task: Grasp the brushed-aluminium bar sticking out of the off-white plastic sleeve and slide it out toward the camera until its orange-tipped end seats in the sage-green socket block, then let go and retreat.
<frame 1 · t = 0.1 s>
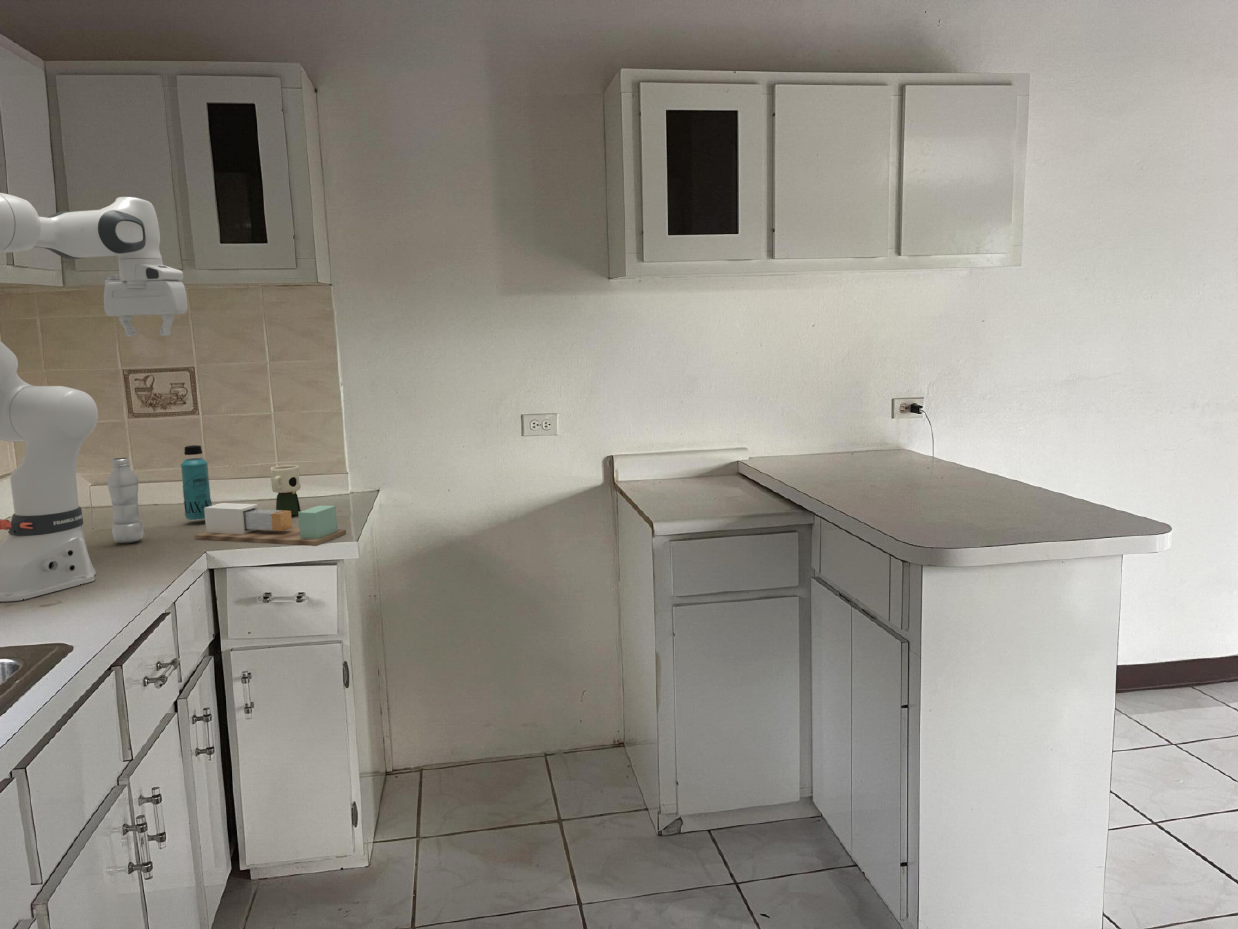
hand: (148, 335, 212), 48 cm above the counter, fingers open, 8 cm apart
rectangular peg: (251, 519, 225), point 4 cm above the counter, slide at 0.0 cm
sleeve: (232, 518, 227), on the baseboard, point 4 cm above the counter
socket: (318, 521, 220), on the baseboard, point 4 cm above the counter
beverage bottle: (199, 523, 243), on the counter
baseboard: (234, 534, 228), on the counter
plastic bottle: (129, 543, 222), on the counter
character mug: (288, 516, 249), on the counter
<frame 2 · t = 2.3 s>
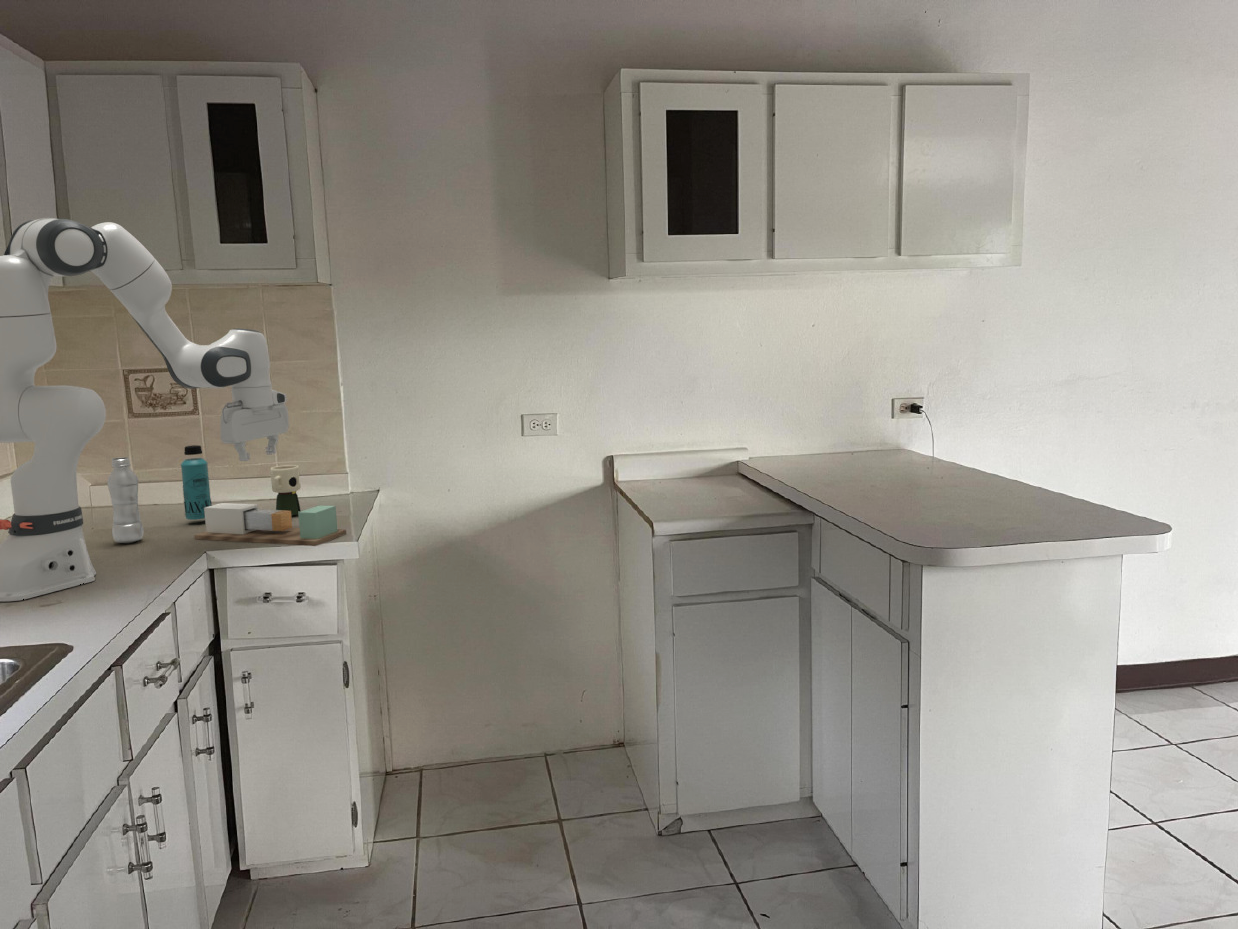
hand: (258, 457, 222), 19 cm above the counter, fingers open, 8 cm apart
nothing on the counter moved.
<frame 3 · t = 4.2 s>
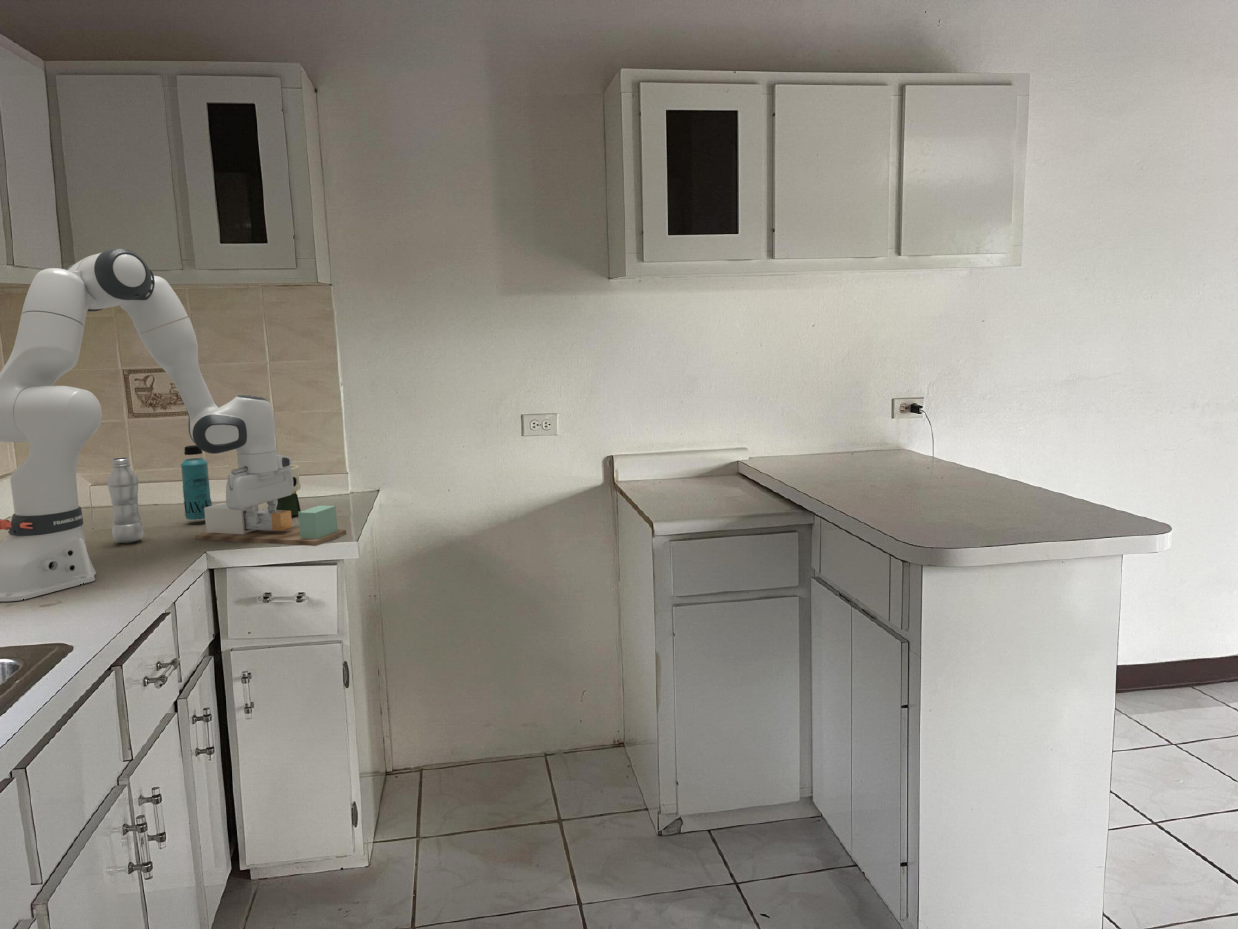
hand: (263, 521, 224), 4 cm above the counter, fingers closed on rectangular peg, 4 cm apart
rectangular peg: (251, 519, 225), point 4 cm above the counter, slide at 0.0 cm, touching gripper
everything else where it was.
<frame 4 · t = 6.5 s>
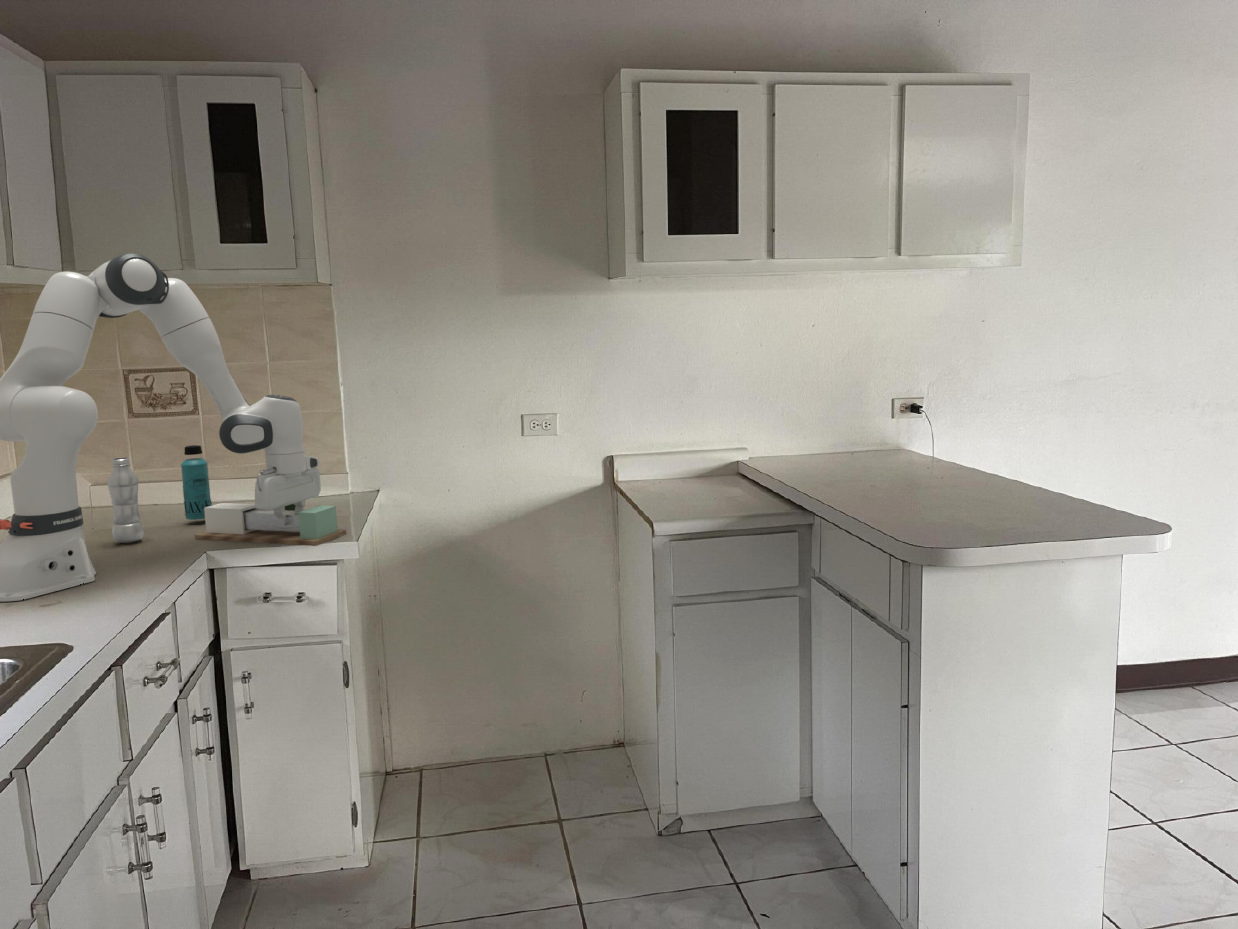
hand: (290, 522, 222), 4 cm above the counter, fingers closed on rectangular peg, 4 cm apart
rectangular peg: (279, 520, 223), point 4 cm above the counter, slide at 7.7 cm, touching gripper
everything else where it was.
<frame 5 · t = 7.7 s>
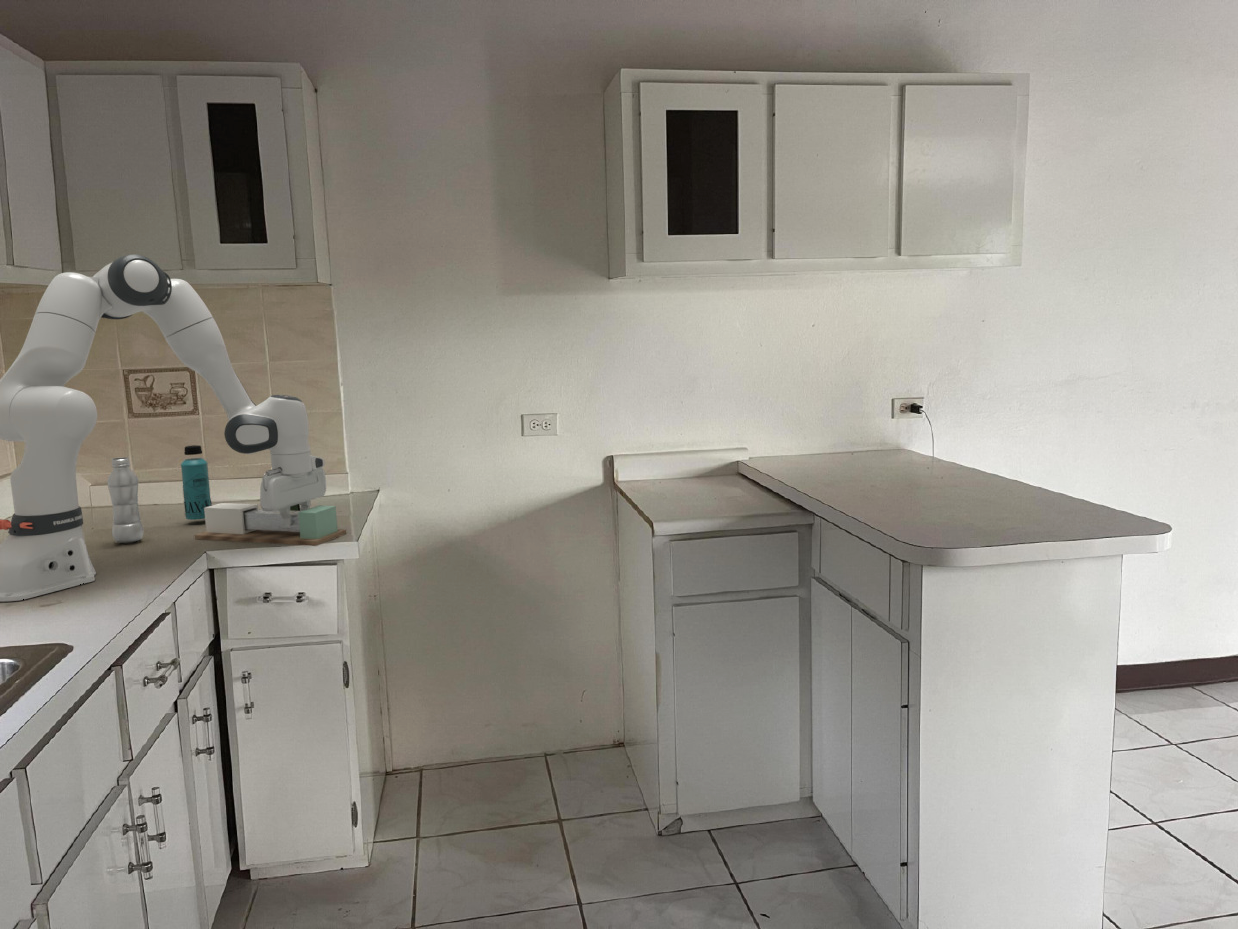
hand: (296, 522, 222), 4 cm above the counter, fingers closed on rectangular peg, 4 cm apart
rectangular peg: (284, 520, 223), point 4 cm above the counter, slide at 9.3 cm, touching gripper
everything else where it was.
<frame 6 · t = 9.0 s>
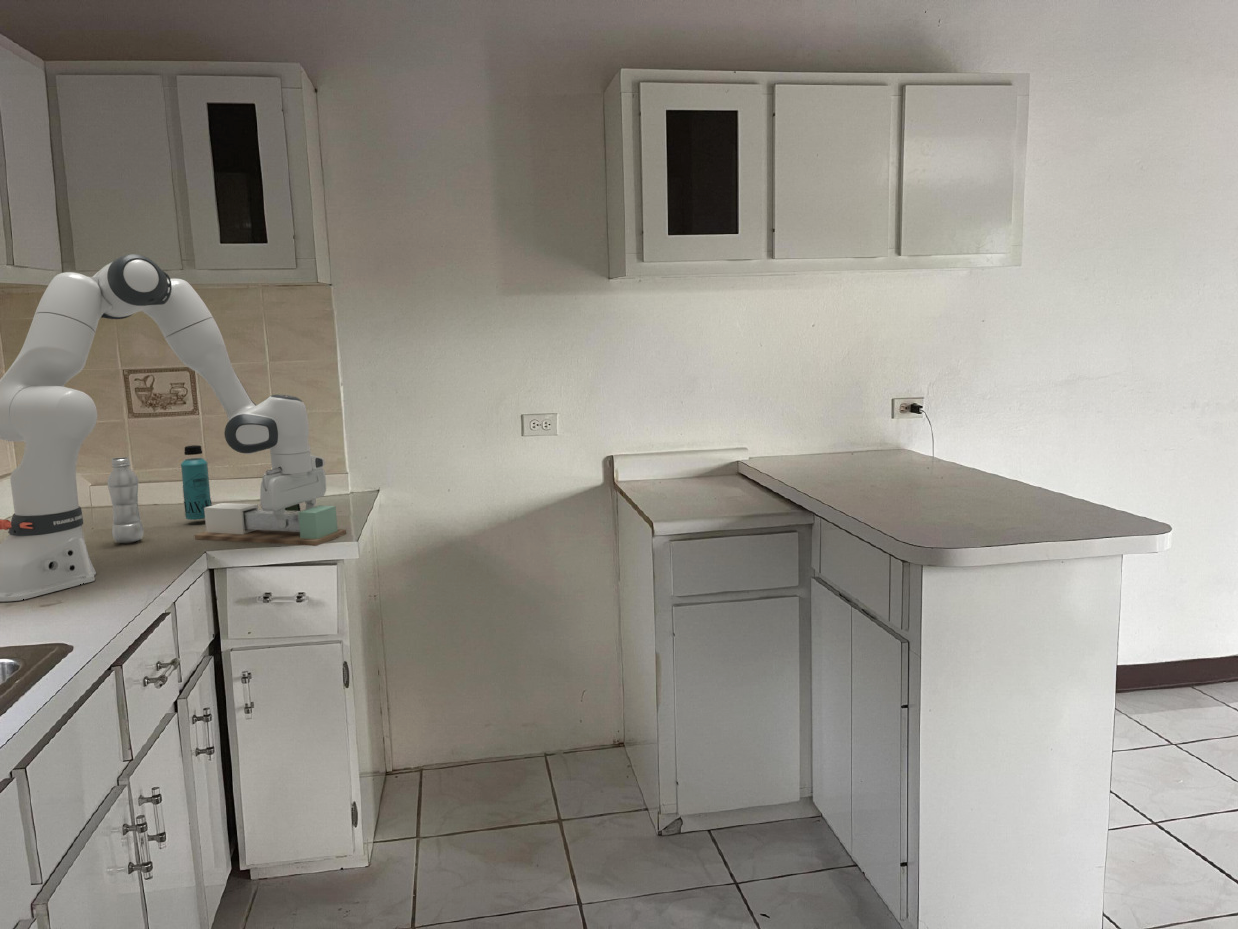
hand: (296, 522, 222), 4 cm above the counter, fingers open, 8 cm apart
rectangular peg: (284, 520, 223), point 4 cm above the counter, slide at 9.3 cm
everything else where it was.
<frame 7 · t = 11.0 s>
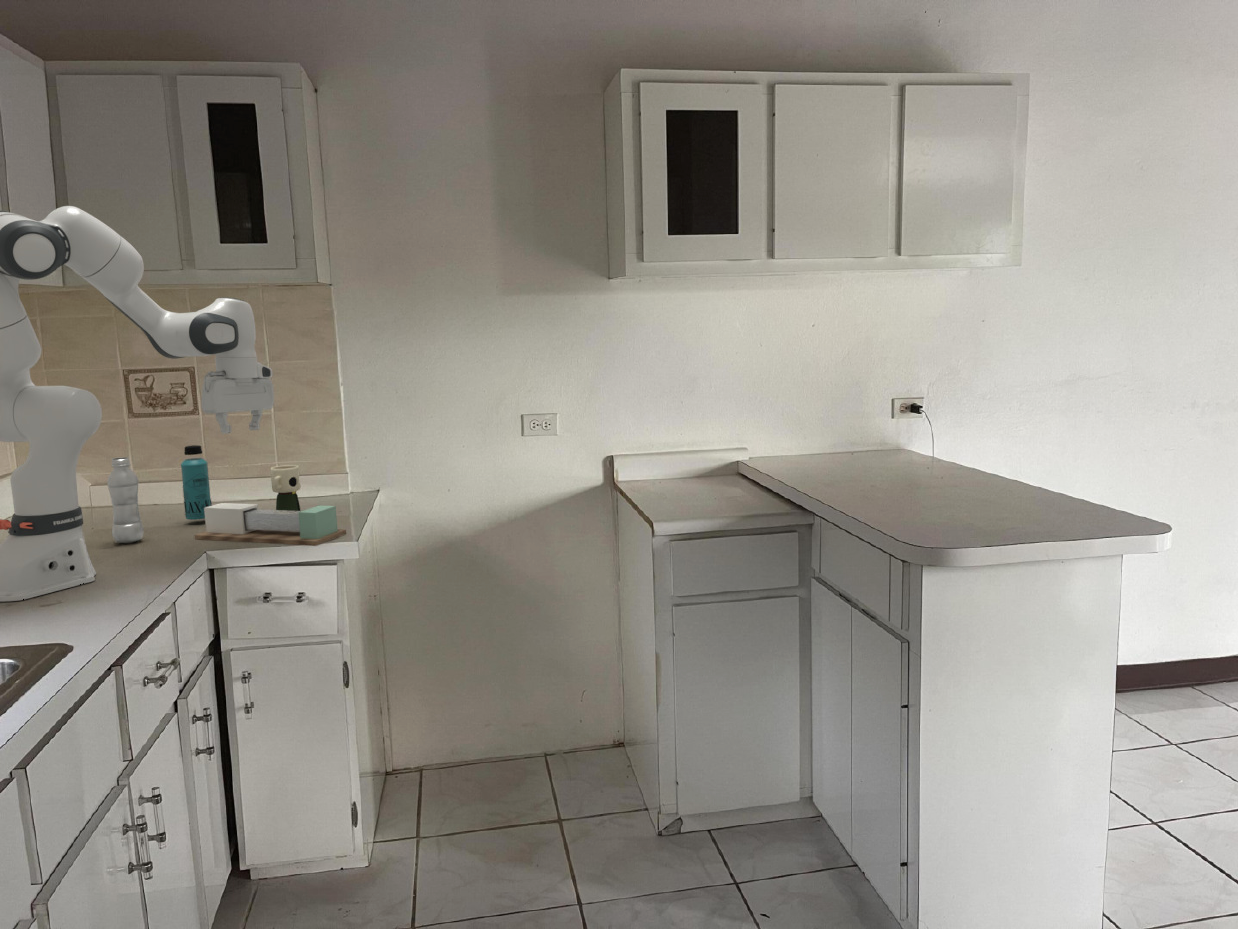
hand: (240, 431, 216), 26 cm above the counter, fingers open, 8 cm apart
nothing on the counter moved.
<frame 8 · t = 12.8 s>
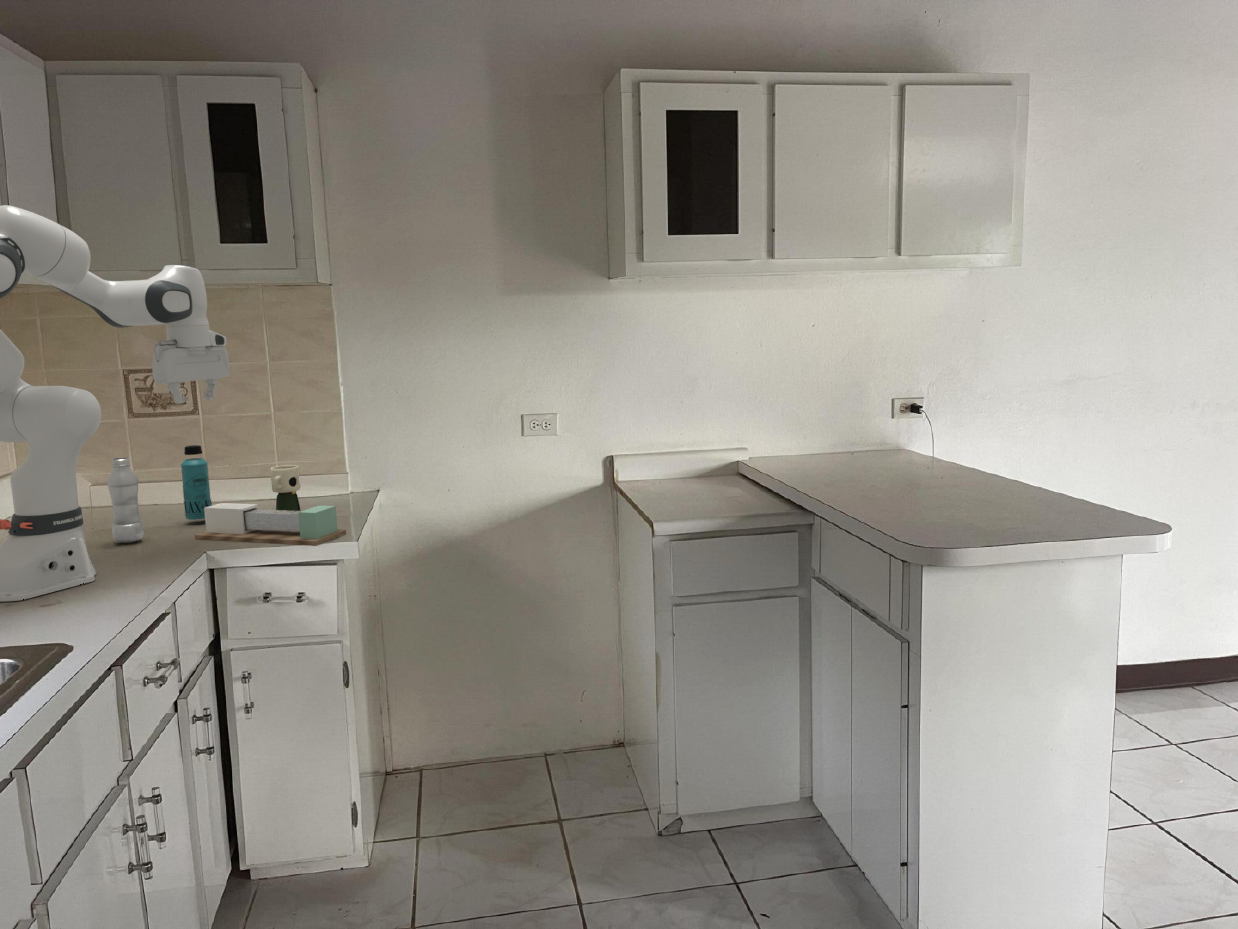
hand: (195, 401, 213), 33 cm above the counter, fingers open, 8 cm apart
nothing on the counter moved.
at the end: rectangular peg slide at 9.3 cm; the gripper is holding nothing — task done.
